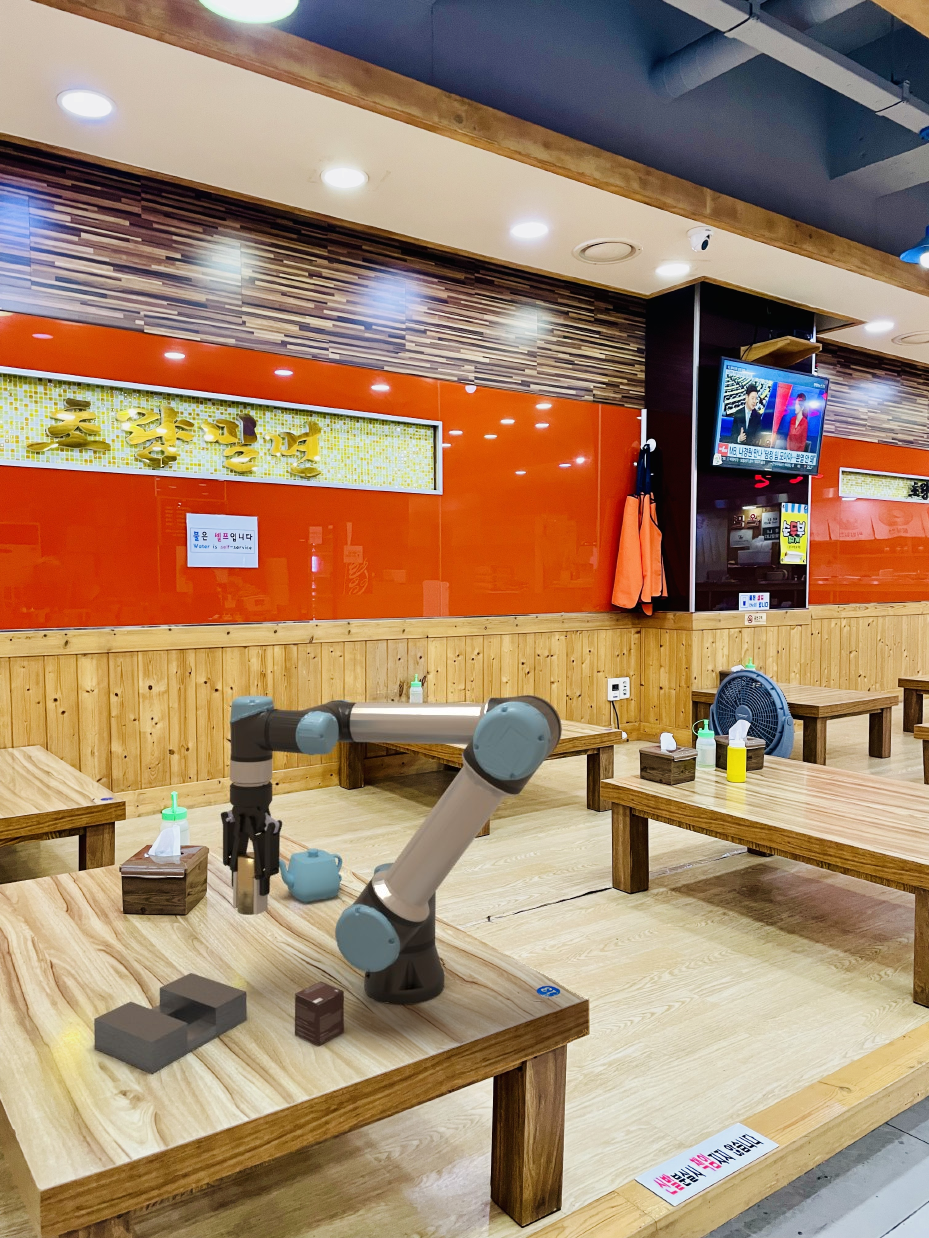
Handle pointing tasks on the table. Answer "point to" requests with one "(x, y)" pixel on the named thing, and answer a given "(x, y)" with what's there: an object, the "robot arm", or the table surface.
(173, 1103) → the table surface
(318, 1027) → the box
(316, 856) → the teapot
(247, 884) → the gold cylinder
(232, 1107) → the table surface
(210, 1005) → the jig
